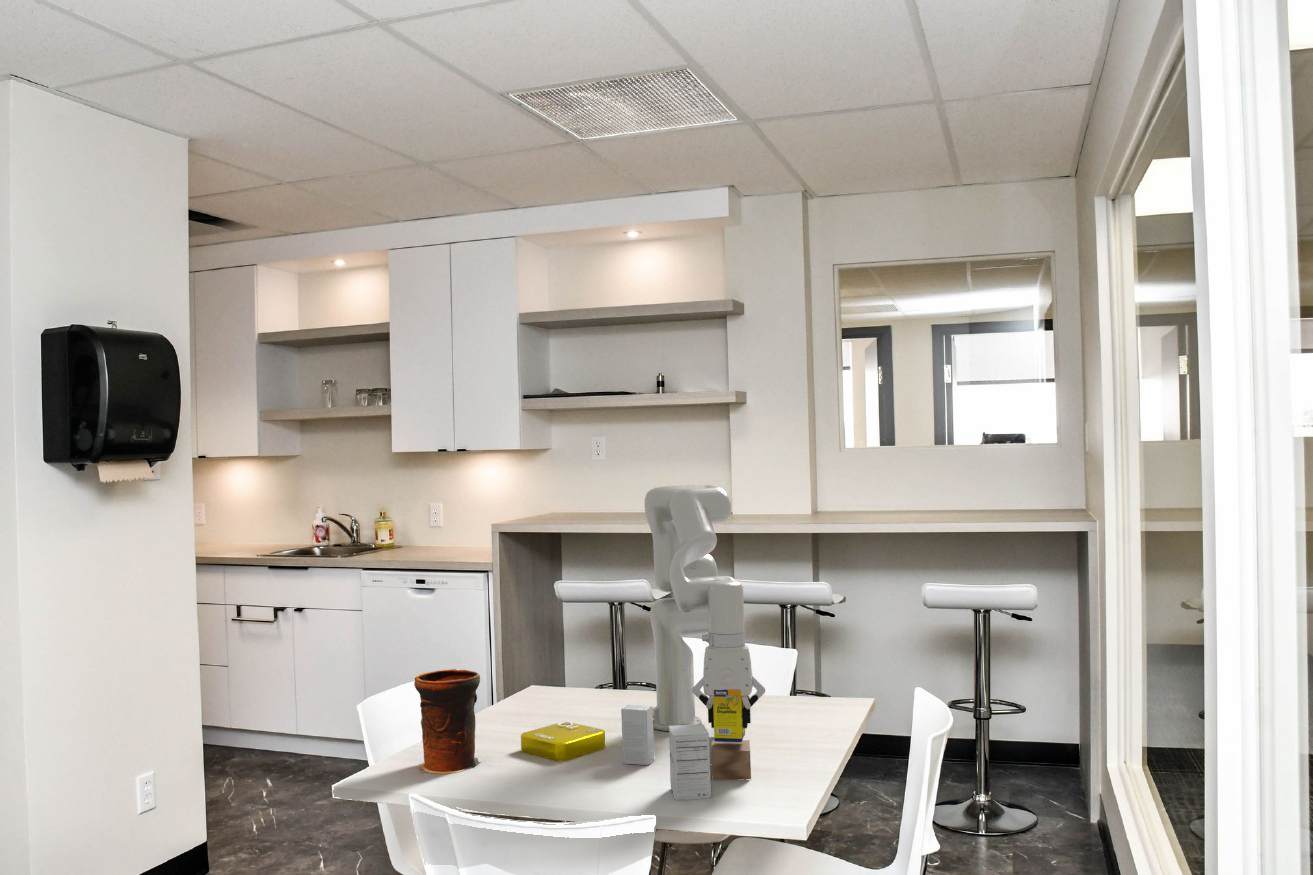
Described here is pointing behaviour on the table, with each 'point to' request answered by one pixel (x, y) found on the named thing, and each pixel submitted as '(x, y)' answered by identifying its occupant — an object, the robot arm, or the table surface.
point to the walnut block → (731, 760)
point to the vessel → (448, 719)
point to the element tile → (562, 741)
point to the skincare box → (637, 734)
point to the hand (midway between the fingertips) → (729, 725)
